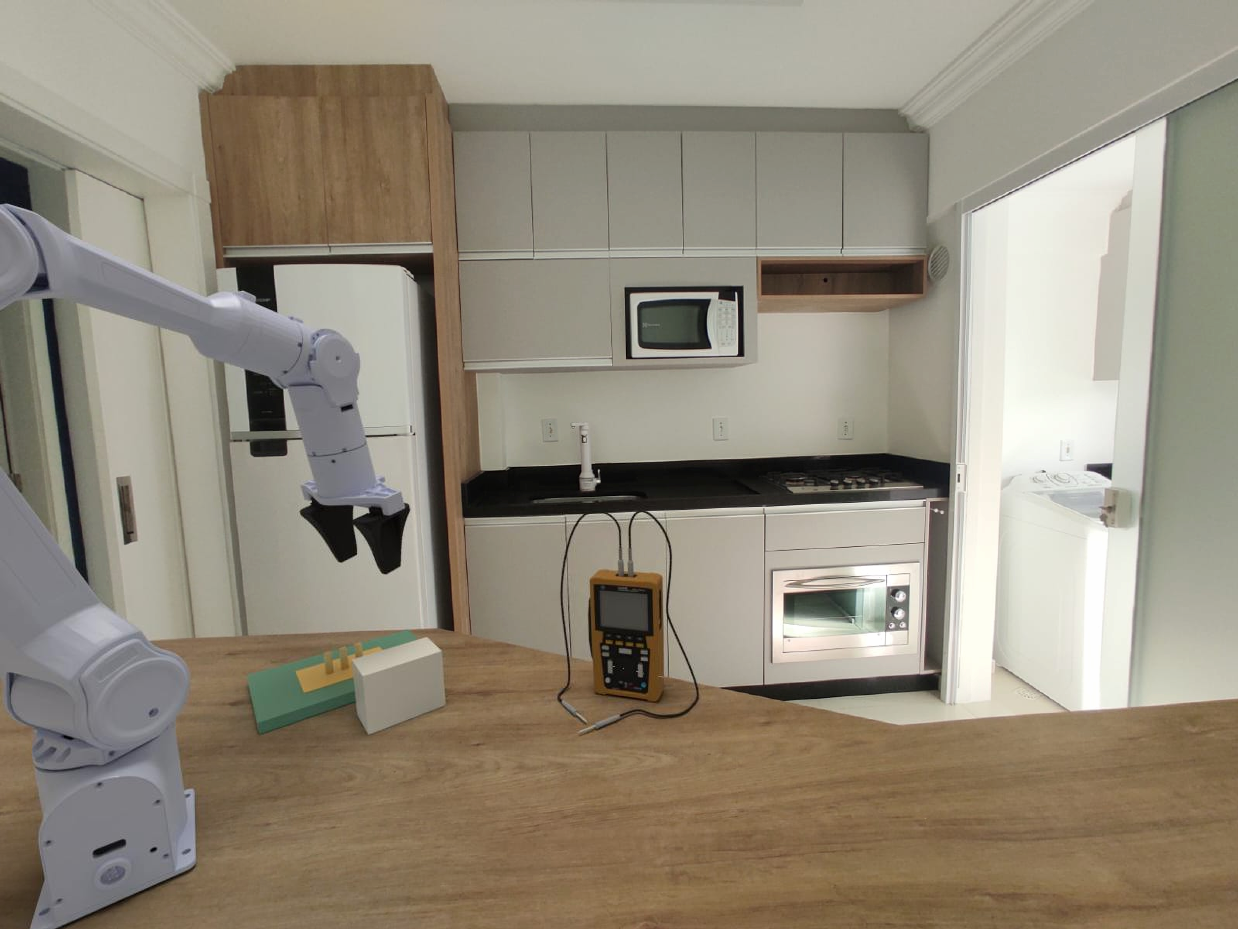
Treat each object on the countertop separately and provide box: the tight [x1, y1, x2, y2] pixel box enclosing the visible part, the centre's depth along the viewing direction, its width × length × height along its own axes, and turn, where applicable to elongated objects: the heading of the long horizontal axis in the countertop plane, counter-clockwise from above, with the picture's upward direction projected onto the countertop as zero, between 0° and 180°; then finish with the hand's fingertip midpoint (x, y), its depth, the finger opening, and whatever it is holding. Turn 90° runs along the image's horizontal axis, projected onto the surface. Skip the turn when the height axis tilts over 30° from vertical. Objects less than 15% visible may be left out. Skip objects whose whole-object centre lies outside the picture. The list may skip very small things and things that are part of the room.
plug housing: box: [352, 636, 447, 736], centre depth 56 cm, size 4×8×6 cm, turn 128°
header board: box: [246, 629, 419, 735], centre depth 63 cm, size 12×18×4 cm, turn 128°
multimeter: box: [556, 509, 700, 734], centre depth 54 cm, size 15×10×20 cm
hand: (369, 564), depth 61 cm, fingers open, 7 cm apart
